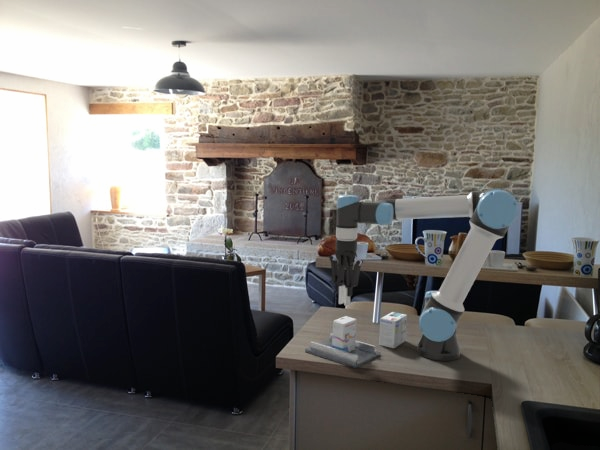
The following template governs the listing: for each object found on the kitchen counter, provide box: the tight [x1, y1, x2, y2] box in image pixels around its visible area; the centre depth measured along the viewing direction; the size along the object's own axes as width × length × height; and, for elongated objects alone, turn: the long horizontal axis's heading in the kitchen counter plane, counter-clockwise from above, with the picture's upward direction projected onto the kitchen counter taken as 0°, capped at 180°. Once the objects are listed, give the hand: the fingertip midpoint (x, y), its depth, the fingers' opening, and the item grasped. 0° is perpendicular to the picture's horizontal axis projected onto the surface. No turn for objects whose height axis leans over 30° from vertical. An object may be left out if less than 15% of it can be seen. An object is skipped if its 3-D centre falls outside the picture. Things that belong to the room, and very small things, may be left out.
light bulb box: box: [378, 311, 408, 349], centre depth 202 cm, size 11×7×11 cm, turn 145°
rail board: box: [304, 332, 381, 369], centre depth 191 cm, size 22×16×4 cm
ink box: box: [332, 315, 358, 352], centre depth 190 cm, size 9×5×12 cm, turn 141°
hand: (344, 303), depth 189 cm, fingers open, 2 cm apart
